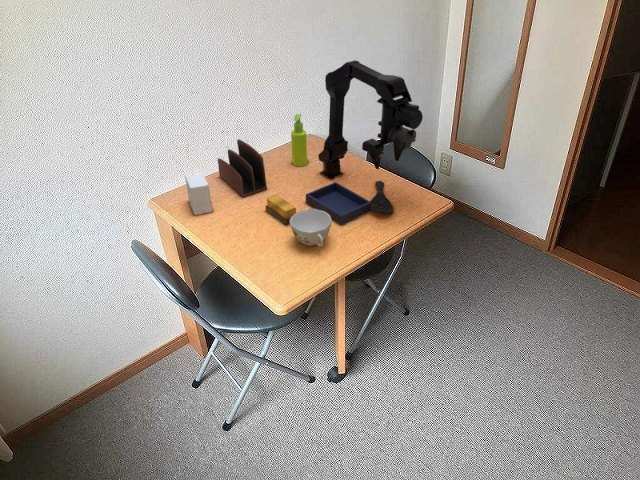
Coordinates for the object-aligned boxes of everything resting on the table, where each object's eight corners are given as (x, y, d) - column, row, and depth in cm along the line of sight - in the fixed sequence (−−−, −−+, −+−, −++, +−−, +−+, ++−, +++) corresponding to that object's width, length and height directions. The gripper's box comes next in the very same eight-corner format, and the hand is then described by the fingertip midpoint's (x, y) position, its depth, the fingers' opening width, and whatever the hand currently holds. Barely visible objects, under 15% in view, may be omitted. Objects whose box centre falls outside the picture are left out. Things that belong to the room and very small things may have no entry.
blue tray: (305, 202, 169) (305, 194, 167) (335, 190, 176) (335, 181, 174) (341, 225, 158) (341, 216, 156) (371, 211, 165) (371, 202, 163)
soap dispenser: (290, 167, 192) (288, 118, 180) (294, 159, 198) (292, 111, 186) (305, 167, 191) (303, 119, 180) (308, 160, 197) (307, 112, 185)
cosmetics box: (213, 211, 165) (209, 184, 159) (194, 215, 163) (189, 188, 157) (207, 197, 173) (202, 171, 167) (188, 201, 171) (183, 174, 165)
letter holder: (242, 169, 191) (238, 135, 183) (267, 189, 177) (264, 154, 169) (219, 176, 186) (214, 142, 178) (242, 197, 173) (238, 161, 165)
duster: (265, 210, 165) (264, 198, 163) (277, 205, 168) (276, 193, 165) (286, 225, 158) (285, 212, 155) (298, 220, 160) (298, 207, 158)
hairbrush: (391, 177, 179) (395, 210, 158) (389, 186, 181) (394, 220, 160) (368, 175, 179) (370, 208, 158) (367, 184, 181) (368, 217, 160)
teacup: (285, 234, 154) (284, 213, 149) (321, 226, 157) (321, 204, 153) (302, 261, 142) (301, 239, 138) (341, 251, 146) (341, 229, 141)
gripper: (388, 135, 142) (384, 182, 151) (430, 119, 151) (424, 164, 160) (361, 124, 149) (360, 169, 158) (403, 109, 158) (399, 153, 167)
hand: (387, 164), depth 160 cm, fingers open, 9 cm apart
